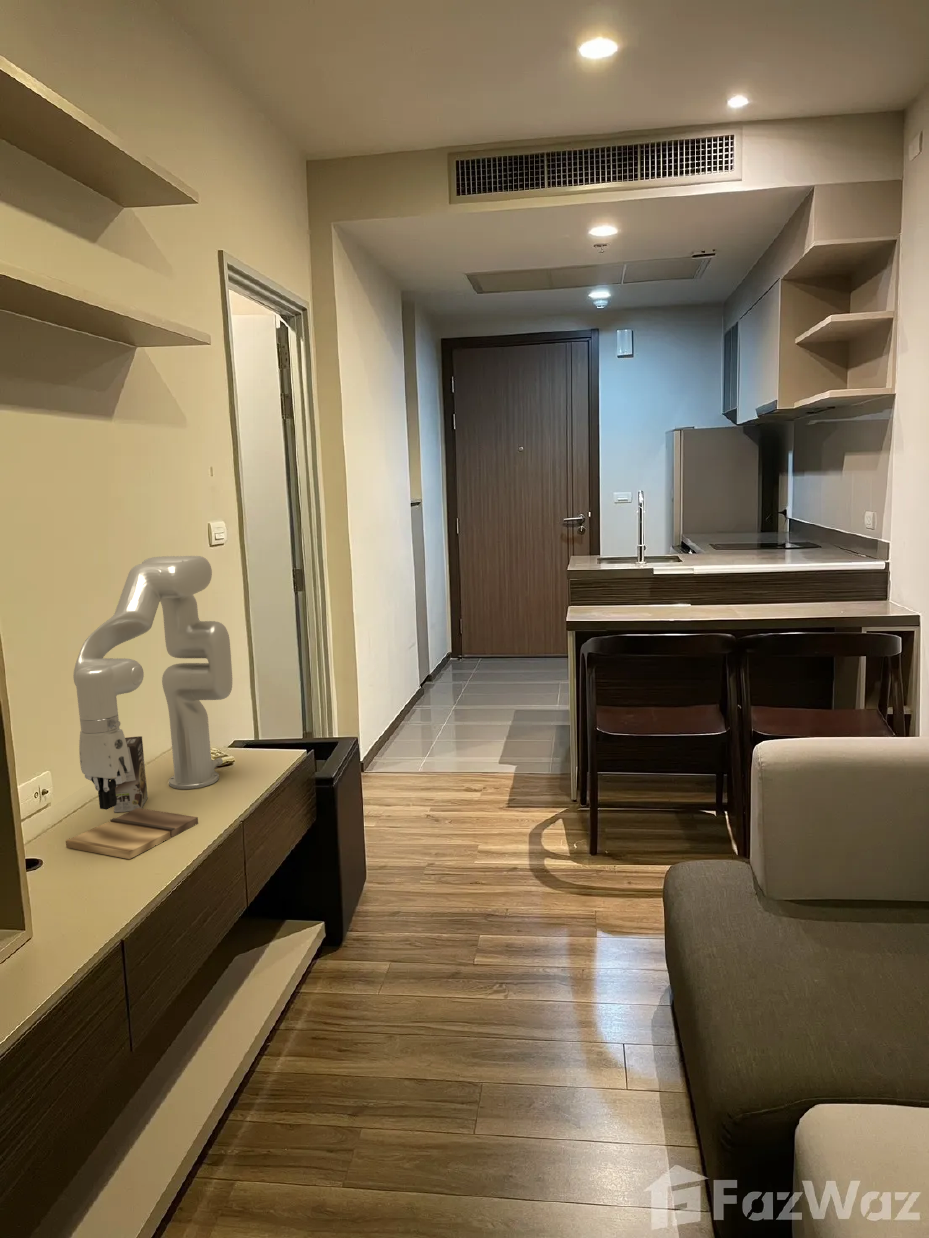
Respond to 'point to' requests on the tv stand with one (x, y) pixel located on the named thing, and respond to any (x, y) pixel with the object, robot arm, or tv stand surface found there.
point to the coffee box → (133, 779)
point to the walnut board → (157, 820)
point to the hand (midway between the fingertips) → (108, 806)
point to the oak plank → (118, 840)
